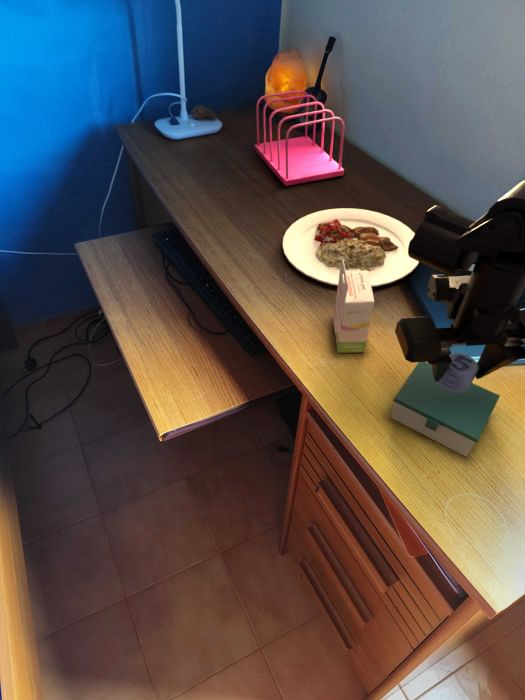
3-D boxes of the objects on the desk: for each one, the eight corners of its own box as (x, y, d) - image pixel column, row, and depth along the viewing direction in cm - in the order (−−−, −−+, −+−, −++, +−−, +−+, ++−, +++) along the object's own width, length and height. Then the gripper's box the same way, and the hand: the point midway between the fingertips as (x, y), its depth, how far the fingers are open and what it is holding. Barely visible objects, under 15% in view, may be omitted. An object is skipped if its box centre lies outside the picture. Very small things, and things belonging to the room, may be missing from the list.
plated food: (387, 312, 89) (390, 298, 86) (256, 264, 100) (256, 250, 98) (438, 237, 106) (442, 224, 103) (321, 203, 117) (322, 191, 115)
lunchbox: (489, 413, 72) (501, 393, 68) (466, 461, 66) (477, 442, 63) (414, 378, 77) (421, 357, 74) (386, 419, 72) (392, 399, 68)
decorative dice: (473, 380, 66) (482, 361, 63) (461, 398, 64) (470, 379, 61) (446, 367, 68) (454, 348, 65) (434, 384, 66) (441, 365, 63)
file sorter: (285, 187, 124) (285, 126, 112) (254, 150, 140) (252, 93, 129) (343, 175, 127) (350, 115, 116) (307, 141, 144) (309, 85, 133)
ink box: (365, 353, 81) (379, 287, 71) (337, 353, 82) (346, 287, 71) (359, 320, 87) (370, 254, 77) (332, 320, 88) (340, 254, 77)
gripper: (539, 246, 60) (498, 333, 71) (395, 254, 59) (376, 341, 70) (586, 302, 52) (531, 390, 63) (421, 312, 51) (395, 399, 63)
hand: (456, 377), depth 65 cm, fingers closed on decorative dice, 5 cm apart
